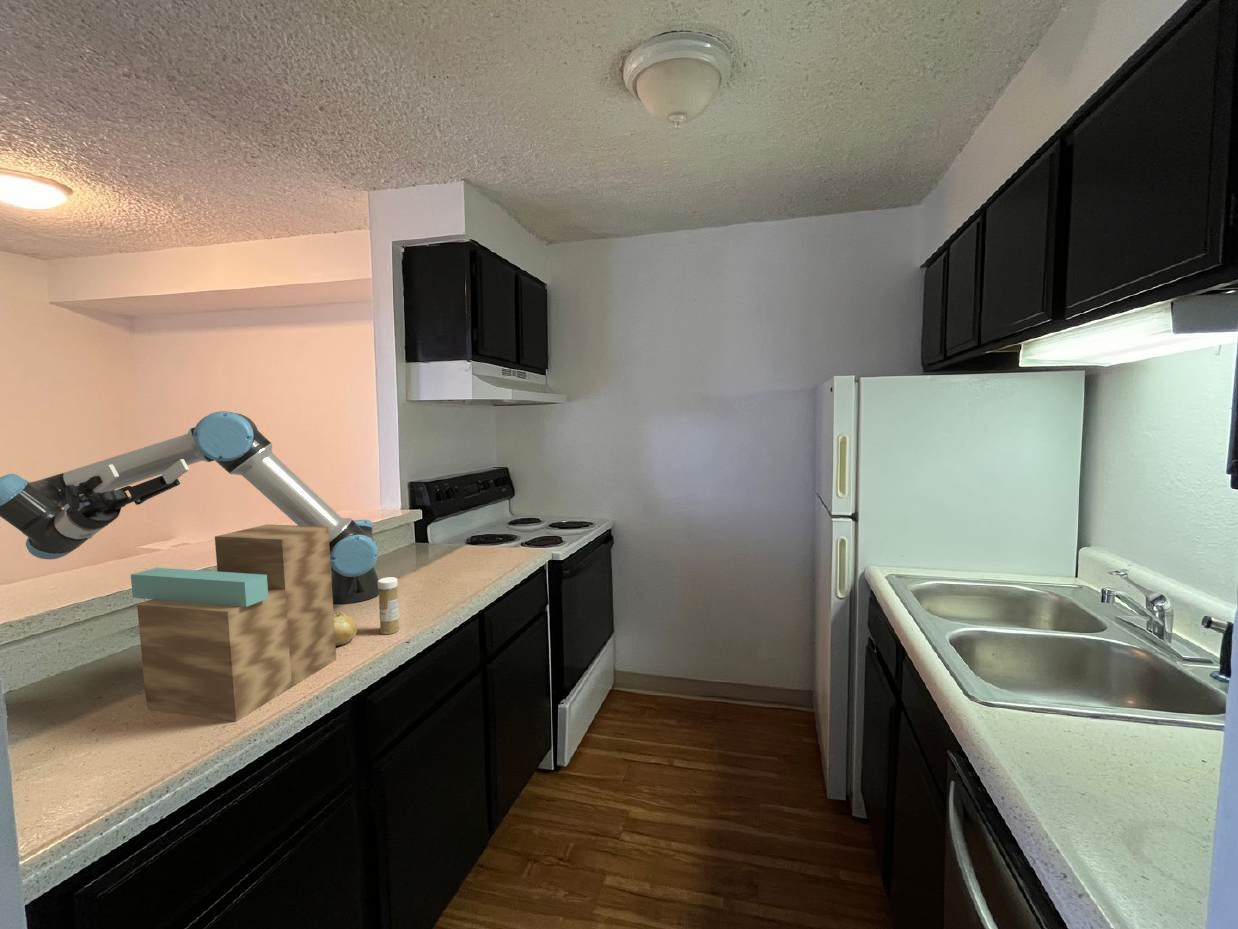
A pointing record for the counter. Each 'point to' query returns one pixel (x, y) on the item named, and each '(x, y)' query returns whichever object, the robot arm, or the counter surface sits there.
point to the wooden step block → (243, 628)
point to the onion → (344, 628)
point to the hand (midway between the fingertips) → (151, 467)
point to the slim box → (200, 586)
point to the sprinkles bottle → (388, 605)
